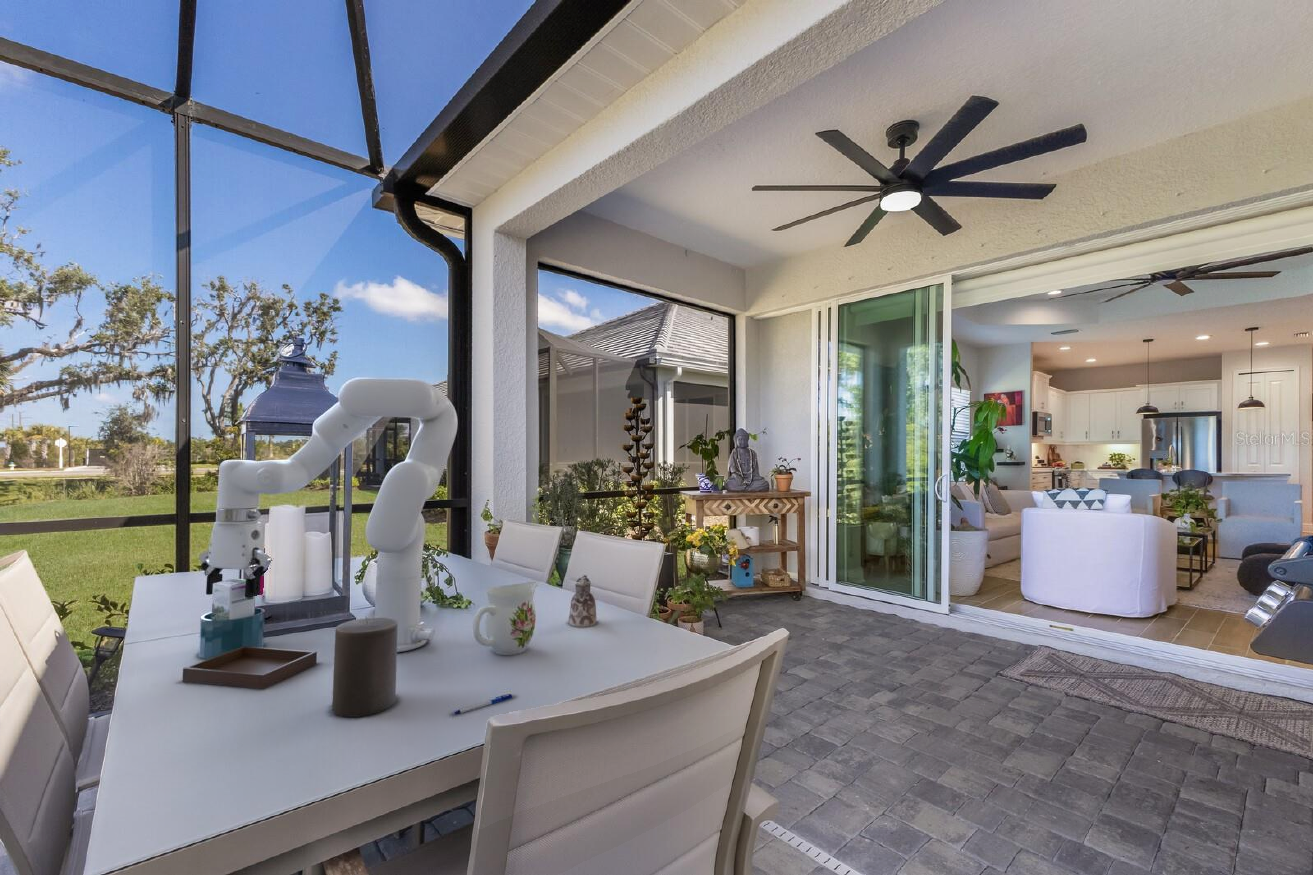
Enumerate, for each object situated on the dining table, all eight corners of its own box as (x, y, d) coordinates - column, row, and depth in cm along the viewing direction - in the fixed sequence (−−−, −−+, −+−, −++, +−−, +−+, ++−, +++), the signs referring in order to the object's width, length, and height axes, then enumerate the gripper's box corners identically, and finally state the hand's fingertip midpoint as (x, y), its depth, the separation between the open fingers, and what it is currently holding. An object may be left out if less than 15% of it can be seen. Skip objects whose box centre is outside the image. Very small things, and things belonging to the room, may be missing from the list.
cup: (275, 644, 129) (277, 608, 129) (231, 661, 118) (232, 622, 118) (232, 641, 131) (234, 605, 131) (184, 657, 120) (186, 618, 120)
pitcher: (456, 657, 122) (458, 592, 123) (519, 636, 137) (521, 578, 138) (490, 668, 116) (492, 600, 117) (553, 645, 131) (554, 585, 132)
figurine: (565, 625, 147) (566, 578, 147) (573, 618, 154) (574, 573, 154) (591, 627, 146) (592, 580, 146) (599, 620, 153) (600, 574, 153)
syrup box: (254, 645, 126) (257, 579, 127) (227, 654, 121) (230, 584, 121) (236, 642, 128) (239, 577, 129) (208, 650, 123) (211, 582, 123)
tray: (316, 664, 117) (317, 651, 117) (262, 689, 104) (263, 675, 104) (243, 658, 120) (244, 646, 120) (182, 681, 107) (182, 668, 107)
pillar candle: (353, 723, 91) (356, 628, 92) (320, 708, 97) (323, 618, 97) (407, 701, 100) (410, 614, 100) (374, 689, 105) (377, 606, 105)
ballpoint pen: (510, 697, 103) (510, 691, 103) (512, 699, 102) (513, 693, 102) (454, 714, 96) (454, 708, 96) (456, 716, 95) (456, 710, 95)
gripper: (285, 516, 128) (281, 593, 127) (219, 513, 131) (214, 588, 130) (257, 519, 120) (252, 601, 120) (187, 516, 123) (182, 596, 123)
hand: (232, 594), depth 125 cm, fingers open, 9 cm apart
